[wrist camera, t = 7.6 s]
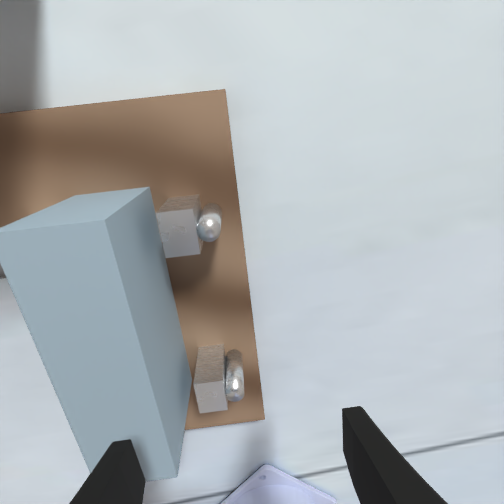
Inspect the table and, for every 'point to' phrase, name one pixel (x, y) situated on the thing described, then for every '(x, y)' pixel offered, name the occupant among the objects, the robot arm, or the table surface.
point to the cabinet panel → (162, 187)
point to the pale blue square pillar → (104, 322)
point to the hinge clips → (190, 243)
